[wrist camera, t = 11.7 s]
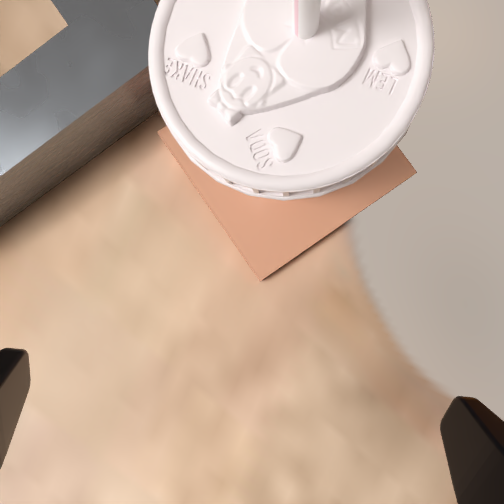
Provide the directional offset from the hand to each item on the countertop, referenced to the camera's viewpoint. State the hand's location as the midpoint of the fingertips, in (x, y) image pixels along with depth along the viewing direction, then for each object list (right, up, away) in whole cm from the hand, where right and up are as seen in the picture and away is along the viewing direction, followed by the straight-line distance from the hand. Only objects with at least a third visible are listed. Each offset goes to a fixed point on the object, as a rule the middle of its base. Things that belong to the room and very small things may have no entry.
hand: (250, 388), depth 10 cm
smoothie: (+2, +7, +10) cm, 13 cm away
